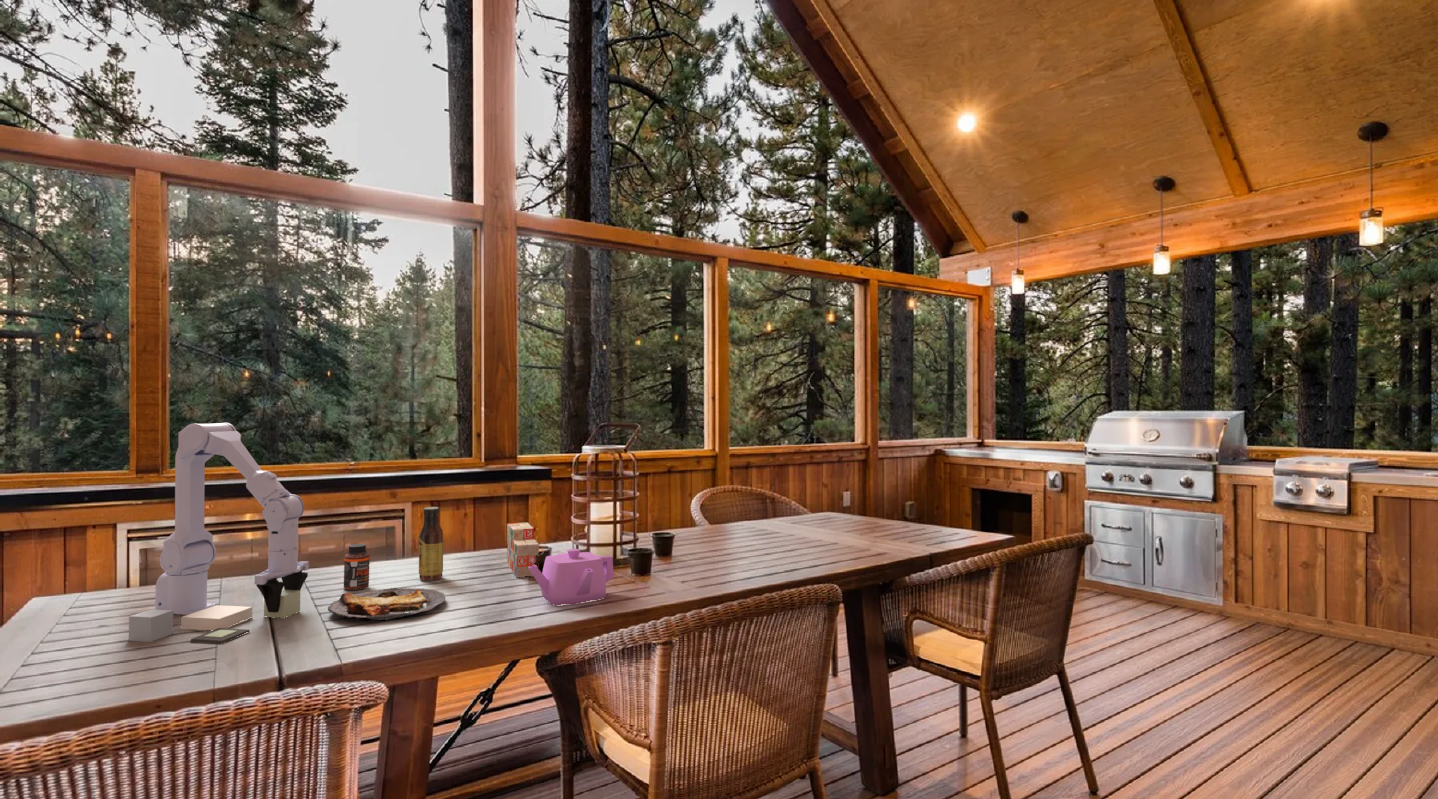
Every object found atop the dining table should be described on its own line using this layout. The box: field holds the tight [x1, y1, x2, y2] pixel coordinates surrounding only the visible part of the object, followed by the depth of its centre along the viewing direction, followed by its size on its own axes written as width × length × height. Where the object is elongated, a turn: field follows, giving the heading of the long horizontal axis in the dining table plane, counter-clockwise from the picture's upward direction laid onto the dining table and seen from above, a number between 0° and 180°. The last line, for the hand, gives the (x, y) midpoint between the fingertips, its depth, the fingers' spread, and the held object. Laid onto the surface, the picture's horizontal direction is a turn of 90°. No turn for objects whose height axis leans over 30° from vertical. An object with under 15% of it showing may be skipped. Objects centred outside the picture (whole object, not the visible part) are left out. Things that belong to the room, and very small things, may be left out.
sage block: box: [263, 589, 301, 619], centre depth 160 cm, size 5×5×5 cm
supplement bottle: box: [343, 543, 371, 591], centre depth 184 cm, size 6×6×11 cm
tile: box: [190, 628, 250, 644], centre depth 145 cm, size 7×7×1 cm
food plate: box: [327, 587, 446, 621], centre depth 166 cm, size 25×23×4 cm
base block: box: [180, 604, 253, 631], centre depth 153 cm, size 9×9×3 cm
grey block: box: [128, 608, 174, 643], centre depth 144 cm, size 5×5×5 cm
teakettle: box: [528, 548, 615, 605], centre depth 177 cm, size 17×17×12 cm
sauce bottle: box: [418, 506, 444, 582], centre depth 194 cm, size 7×6×20 cm
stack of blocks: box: [506, 522, 540, 578], centre depth 207 cm, size 21×6×12 cm, turn 24°
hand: (282, 608), depth 160 cm, fingers closed on sage block, 5 cm apart
